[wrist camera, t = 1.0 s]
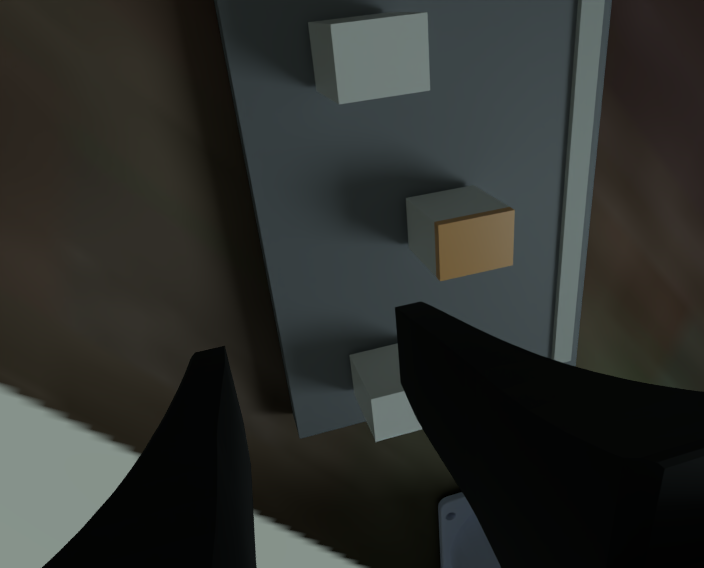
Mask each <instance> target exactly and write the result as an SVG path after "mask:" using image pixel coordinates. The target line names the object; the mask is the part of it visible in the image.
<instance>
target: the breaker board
mask: <svg viewBox="0 0 704 568" xmlns="http://www.w3.org/2000/svg"><path fill="white" fill-rule="evenodd" d="M611 3H612V0H214V4H215V9H216V14H217V19H218V24H219V30H220V35H221V40H222V45H223V51H224V56H225V61H226V66H227V71H228V77H229V82H230V87H231V92H232V98H233V103H234V108H235V113H236V118H237V124H238V129H239V134H240V139H241V145H242V150H243V155H244V160H245V165H246V171H247V176H248V181H249V186H250V192H251V197H252V202H253V207H254V212H255V218H256V223H257V228H258V233H259V239H260V244H261V249H262V254H263V259H264V265H265V270H266V275H267V280H268V286H269V291H270V296H271V301H272V306H273V312H274V317H275V322H276V327H277V333H278V338H279V343H280V348H281V353H282V359H283V364H284V369H285V374H286V380H287V385H288V390H289V395H290V400H291V406H292V411H293V416H294V419H295V423H296V427H297V430H298V434H299V438H300V439H301V438H304V437H308V436H312V435H316V434H319V433H323V432H327V431H331V430H335V429H338V428H342V427H346V426H350V425H353V424H357V423H361V422H365V421H366V419H365V417H364V415H363V413H362V410H361V408H360V406H359V404H358V401H357V399H356V397H355V395H354V388H353V380H352V372H351V364H350V356H349V355H351V354H355V353H359V352H363V351H368V350H372V349H376V348H380V347H384V346H388V345H393V344H397V329H396V316H395V307H398V306H403V305H407V304H411V303H416V302H420V301H421V302H424V303H426V304H429V305H431V306H433V307H435V308H437V309H439V310H441V311H443V312H445V313H447V314H449V315H451V316H453V317H455V318H457V319H459V320H461V321H463V322H465V323H467V324H469V325H471V326H473V327H475V328H477V329H479V330H481V331H484V332H486V333H488V334H490V335H492V336H494V337H497V338H499V339H501V340H503V341H506V342H508V343H510V344H513V345H515V346H518V347H520V348H523V349H525V350H528V351H530V352H533V353H535V354H538V355H541V356H544V357H547V358H550V359H553V360H556V361H559V362H562V363H565V364H569V365H572V366H576V356H577V346H578V336H579V326H580V316H581V305H582V295H583V285H584V275H585V265H586V255H587V245H588V235H589V225H590V215H591V205H592V195H593V184H594V174H595V164H596V154H597V144H598V134H599V124H600V114H601V104H602V94H603V84H604V73H605V63H606V53H607V43H608V33H609V23H610V13H611ZM387 12H427V14H428V42H429V70H430V91H424V92H417V93H411V94H404V95H398V96H391V97H385V98H378V99H371V100H365V101H358V102H352V103H345V104H338V103H336V102H334V101H333V100H331V99H329V98H328V97H326V96H324V95H323V94H321V93H319V92H318V91H316V83H315V75H314V67H313V59H312V51H311V43H310V35H309V27H308V22H314V21H322V20H330V19H338V18H346V17H354V16H363V15H371V14H379V13H387ZM471 185H474V186H476V187H477V188H479V189H481V190H482V191H484V192H486V193H487V194H489V195H491V196H492V197H494V198H496V199H497V200H499V201H501V202H502V203H504V204H506V205H507V206H509V207H511V208H512V209H514V210H515V219H514V249H513V265H512V266H507V267H503V268H498V269H494V270H489V271H485V272H480V273H476V274H471V275H467V276H462V277H458V278H453V279H449V280H444V281H439V280H438V279H437V277H436V276H435V275H434V274H433V273H432V272H431V271H430V270H429V269H428V268H427V267H426V266H425V265H424V264H423V263H422V262H421V261H420V260H419V259H418V257H417V256H416V255H415V254H414V253H413V252H412V251H411V250H410V249H409V244H408V228H407V211H406V198H408V197H413V196H419V195H424V194H429V193H434V192H440V191H445V190H450V189H455V188H461V187H466V186H471Z"/></svg>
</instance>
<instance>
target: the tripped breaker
mask: <svg viewBox="0 0 704 568" xmlns="http://www.w3.org/2000/svg"><path fill="white" fill-rule="evenodd" d="M406 211H407V228H408V244H409V249H410V250H411V251H412V252H413V253H414V254H415V255H416V256H417V257H418V259H419V260H420V261H421V262H422V263H423V264H424V265H425V266H426V267H427V268H428V269H429V270H430V271H431V272H432V273H433V274H434V275H435V276H436V277H437V279H438V280H439V281H444V280H449V279H453V278H458V277H462V276H467V275H471V274H476V273H480V272H485V271H489V270H494V269H498V268H503V267H507V266H512V265H513V249H514V219H515V210H514V209H512V208H511V207H509V206H507V205H506V204H504V203H502V202H501V201H499V200H497V199H496V198H494V197H492V196H491V195H489V194H487V193H486V192H484V191H482V190H481V189H479V188H477V187H476V186H474V185H471V186H466V187H461V188H455V189H450V190H445V191H440V192H434V193H429V194H424V195H419V196H413V197H408V198H406Z"/></svg>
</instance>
